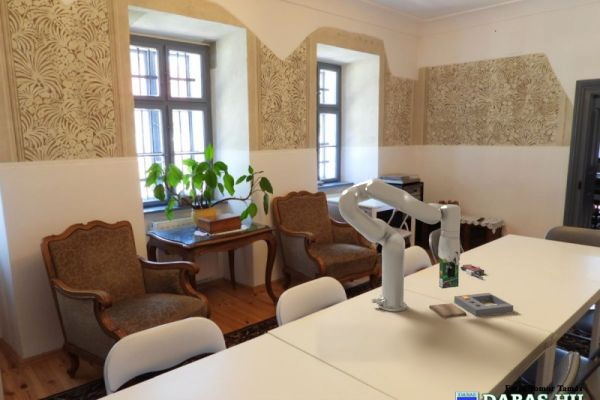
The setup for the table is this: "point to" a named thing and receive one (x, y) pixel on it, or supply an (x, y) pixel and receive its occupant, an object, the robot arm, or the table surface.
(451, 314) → the walnut pad
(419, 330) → the table surface
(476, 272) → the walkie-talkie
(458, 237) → the robot arm
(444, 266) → the coffee box
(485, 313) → the toy stove front
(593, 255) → the table surface
